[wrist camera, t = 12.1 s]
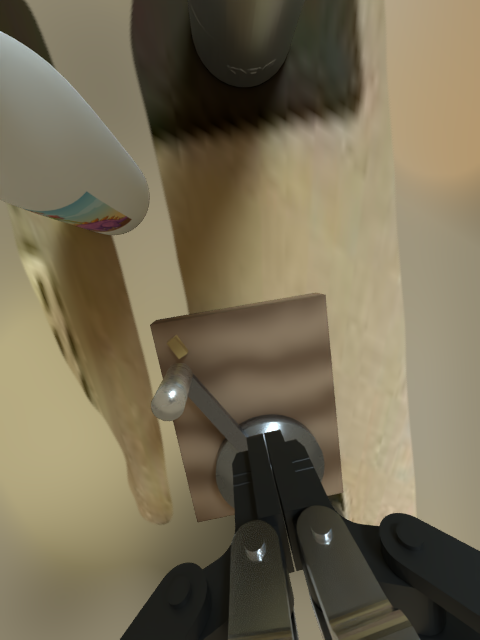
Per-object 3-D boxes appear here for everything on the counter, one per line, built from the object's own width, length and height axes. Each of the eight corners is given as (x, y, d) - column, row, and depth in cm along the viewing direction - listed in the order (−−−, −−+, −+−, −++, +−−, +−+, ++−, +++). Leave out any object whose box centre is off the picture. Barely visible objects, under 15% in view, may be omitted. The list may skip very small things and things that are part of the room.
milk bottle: (88, 135, 24) (-536, -498, 4) (164, 178, 25) (-42, -156, 5) (58, 211, 25) (-551, -7, 5) (132, 250, 26) (-136, 188, 6)
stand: (156, 320, 28) (147, 327, 24) (316, 292, 28) (329, 295, 25) (199, 503, 33) (196, 530, 29) (334, 476, 33) (347, 499, 30)
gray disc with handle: (338, 465, 30) (379, 533, 22) (257, 522, 30) (270, 607, 23) (221, 321, 25) (222, 343, 18) (130, 392, 26) (93, 442, 18)
